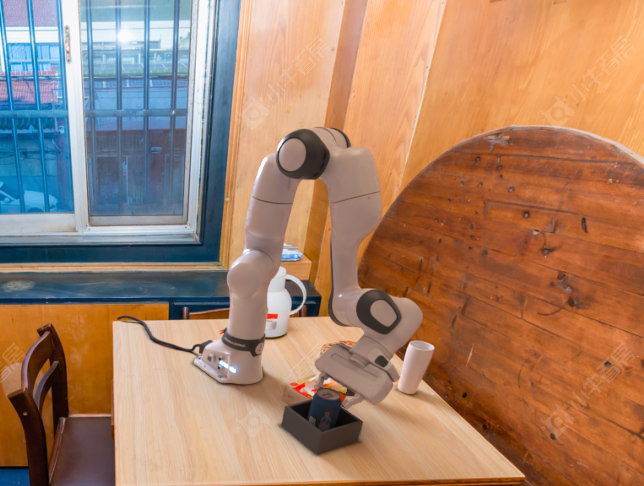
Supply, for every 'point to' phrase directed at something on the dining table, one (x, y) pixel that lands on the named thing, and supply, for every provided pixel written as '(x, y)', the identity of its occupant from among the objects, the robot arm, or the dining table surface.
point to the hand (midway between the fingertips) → (329, 398)
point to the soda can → (325, 409)
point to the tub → (315, 438)
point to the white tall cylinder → (415, 366)
